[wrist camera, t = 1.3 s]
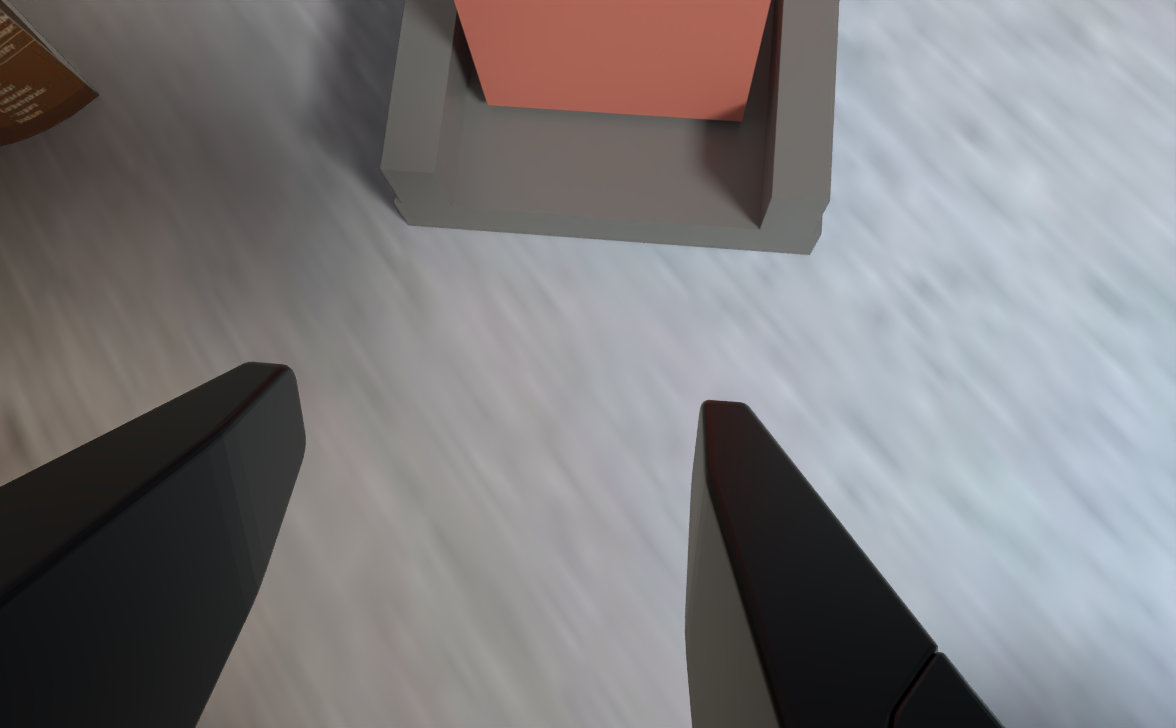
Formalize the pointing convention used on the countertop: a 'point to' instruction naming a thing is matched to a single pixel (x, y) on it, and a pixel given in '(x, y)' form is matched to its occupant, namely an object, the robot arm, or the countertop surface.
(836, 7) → the grey slotted holder tray
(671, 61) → the red plug
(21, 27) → the food container
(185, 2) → the countertop surface
